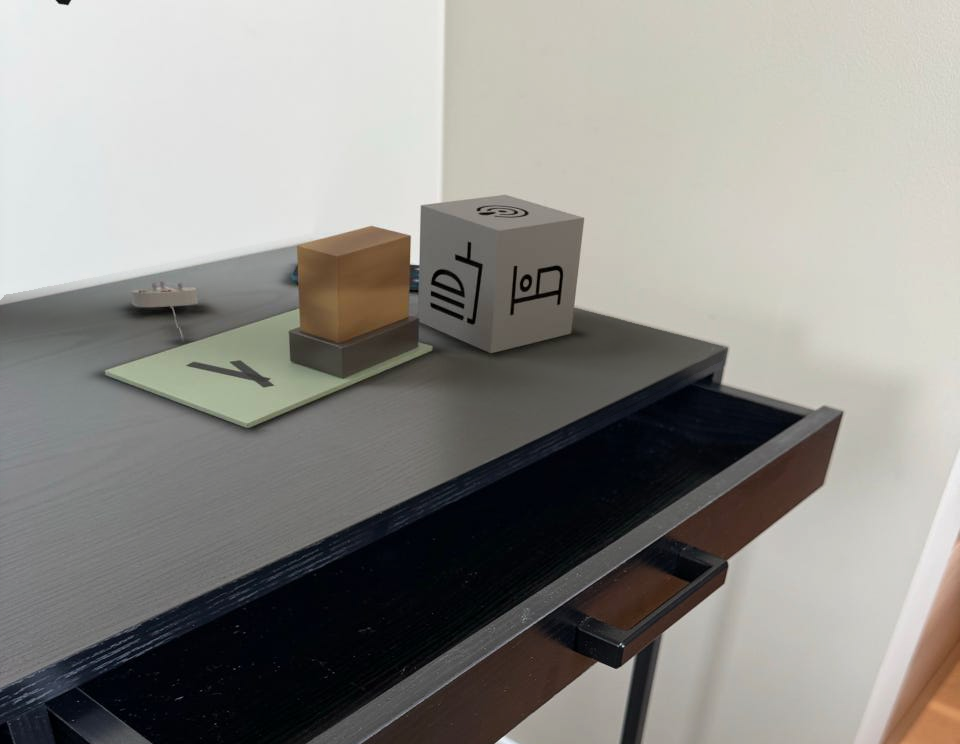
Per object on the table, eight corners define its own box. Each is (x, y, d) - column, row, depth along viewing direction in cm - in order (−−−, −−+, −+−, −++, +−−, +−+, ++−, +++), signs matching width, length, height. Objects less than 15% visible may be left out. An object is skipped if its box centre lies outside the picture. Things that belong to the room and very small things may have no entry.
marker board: (105, 375, 74) (104, 369, 74) (301, 311, 90) (301, 307, 89) (247, 428, 68) (247, 422, 68) (432, 350, 83) (432, 345, 83)
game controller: (183, 296, 91) (180, 268, 90) (243, 333, 84) (241, 302, 83) (124, 305, 88) (120, 275, 86) (182, 343, 81) (179, 312, 79)
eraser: (289, 361, 78) (284, 243, 72) (367, 331, 85) (368, 222, 79) (342, 379, 76) (341, 259, 70) (418, 347, 83) (422, 236, 77)
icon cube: (490, 353, 83) (499, 230, 78) (418, 321, 89) (420, 205, 84) (571, 333, 89) (584, 217, 83) (497, 304, 95) (505, 194, 89)
